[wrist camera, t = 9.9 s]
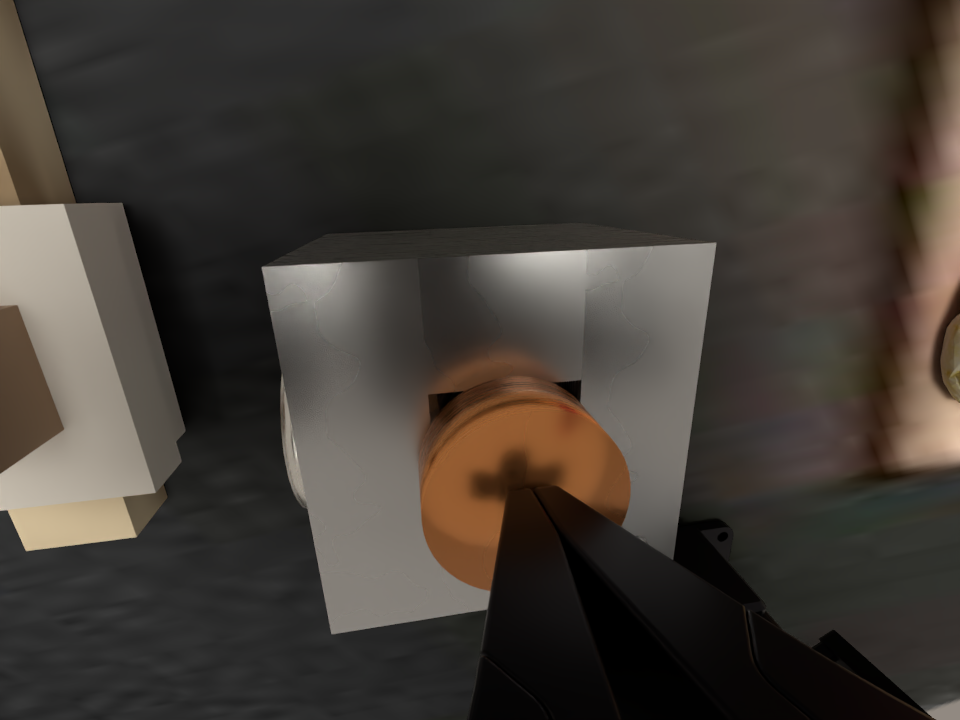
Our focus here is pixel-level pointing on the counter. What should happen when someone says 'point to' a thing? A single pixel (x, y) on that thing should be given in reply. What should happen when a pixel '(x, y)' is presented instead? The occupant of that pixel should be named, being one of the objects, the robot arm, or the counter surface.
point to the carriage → (79, 361)
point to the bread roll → (952, 358)
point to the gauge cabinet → (472, 379)
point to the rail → (39, 181)
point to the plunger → (509, 466)
